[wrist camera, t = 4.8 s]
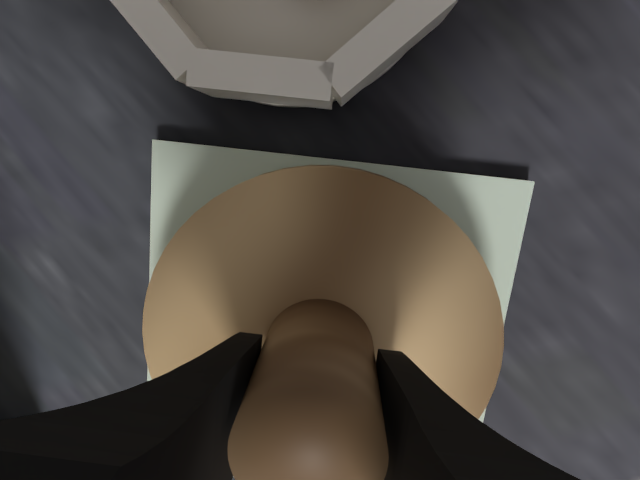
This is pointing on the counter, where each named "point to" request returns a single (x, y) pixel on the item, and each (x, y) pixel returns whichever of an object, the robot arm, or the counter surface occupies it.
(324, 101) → the bowl
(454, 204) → the mat
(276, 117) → the counter surface
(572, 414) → the counter surface
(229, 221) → the lid
